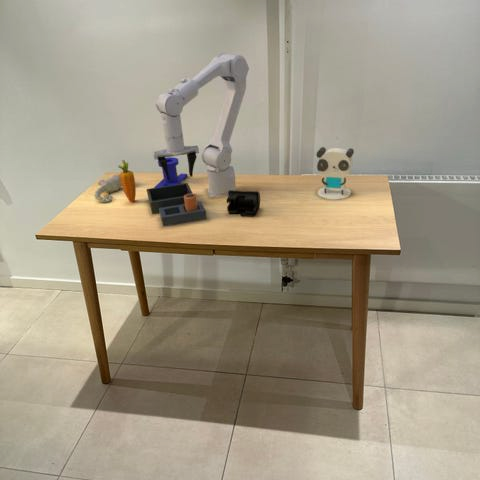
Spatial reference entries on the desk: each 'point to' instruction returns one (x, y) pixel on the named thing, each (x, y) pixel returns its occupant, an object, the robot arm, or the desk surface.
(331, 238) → the desk surface
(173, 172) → the mount
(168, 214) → the rack
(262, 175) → the desk surface
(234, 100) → the robot arm
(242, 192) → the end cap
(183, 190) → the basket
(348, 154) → the panda figurine
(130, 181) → the carrot
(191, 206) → the tube
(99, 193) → the seahorse
